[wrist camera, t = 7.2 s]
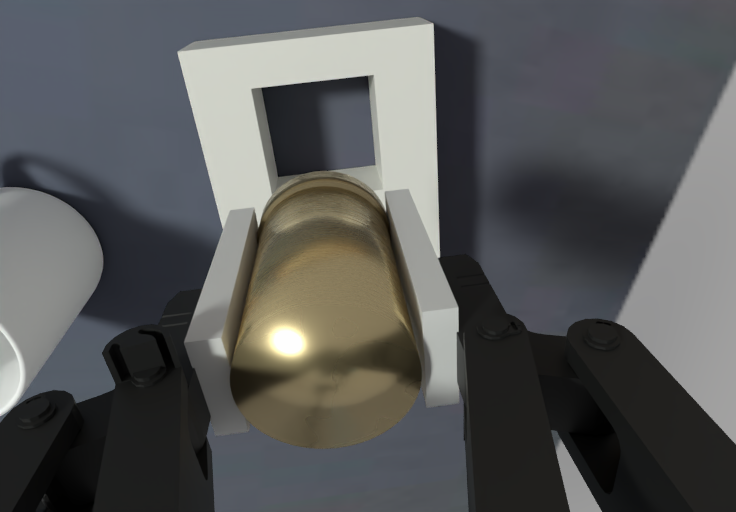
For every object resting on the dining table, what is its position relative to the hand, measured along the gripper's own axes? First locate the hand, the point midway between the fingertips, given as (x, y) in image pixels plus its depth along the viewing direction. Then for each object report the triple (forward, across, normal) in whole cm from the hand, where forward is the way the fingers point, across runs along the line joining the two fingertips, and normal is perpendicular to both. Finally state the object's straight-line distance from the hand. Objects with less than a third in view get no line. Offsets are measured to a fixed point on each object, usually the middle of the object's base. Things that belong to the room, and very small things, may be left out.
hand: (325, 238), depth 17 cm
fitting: (0, 0, 0) cm, 0 cm away
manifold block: (+15, 0, +5) cm, 16 cm away
